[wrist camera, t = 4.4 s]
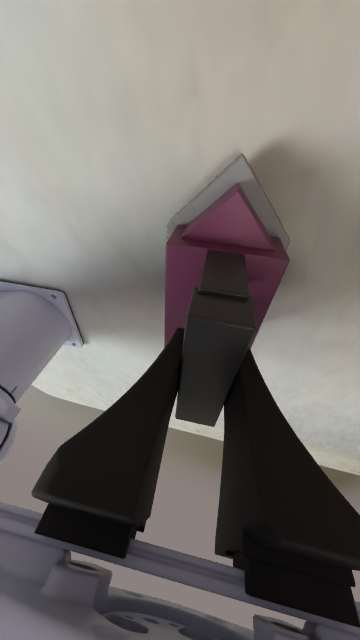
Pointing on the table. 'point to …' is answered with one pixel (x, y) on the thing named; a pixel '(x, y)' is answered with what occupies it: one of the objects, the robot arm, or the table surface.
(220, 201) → the iron
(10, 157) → the table surface
